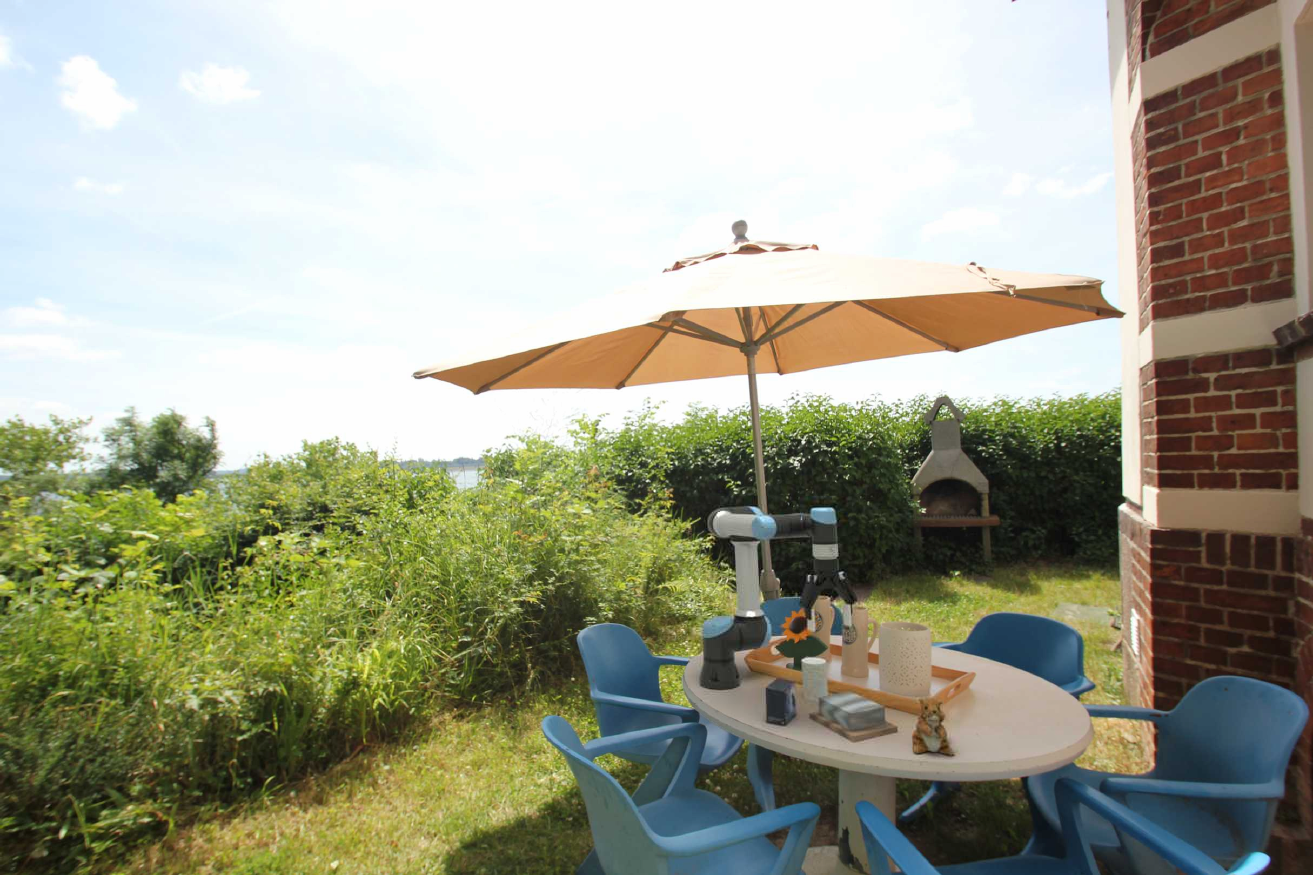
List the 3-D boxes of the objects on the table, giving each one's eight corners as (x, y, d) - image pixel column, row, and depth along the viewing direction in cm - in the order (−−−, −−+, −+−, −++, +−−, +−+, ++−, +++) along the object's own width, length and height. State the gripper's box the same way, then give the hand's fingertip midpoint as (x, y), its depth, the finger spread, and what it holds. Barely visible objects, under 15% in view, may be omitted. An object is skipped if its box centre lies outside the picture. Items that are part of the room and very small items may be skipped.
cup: (800, 699, 195) (798, 662, 196) (806, 691, 202) (804, 656, 204) (825, 702, 191) (823, 665, 193) (830, 694, 198) (828, 658, 200)
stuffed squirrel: (913, 755, 152) (909, 703, 153) (908, 733, 165) (905, 686, 166) (955, 759, 149) (951, 706, 150) (947, 737, 162) (943, 688, 163)
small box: (786, 726, 173) (784, 690, 174) (765, 722, 176) (764, 687, 177) (797, 714, 182) (795, 680, 183) (777, 711, 185) (776, 677, 186)
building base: (809, 717, 179) (808, 695, 180) (850, 708, 185) (849, 687, 186) (853, 741, 161) (851, 717, 161) (897, 731, 167) (896, 708, 167)
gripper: (799, 561, 171) (803, 635, 169) (866, 555, 180) (870, 625, 178) (784, 559, 178) (788, 630, 176) (849, 554, 187) (854, 621, 185)
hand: (830, 627), depth 177 cm, fingers open, 13 cm apart
